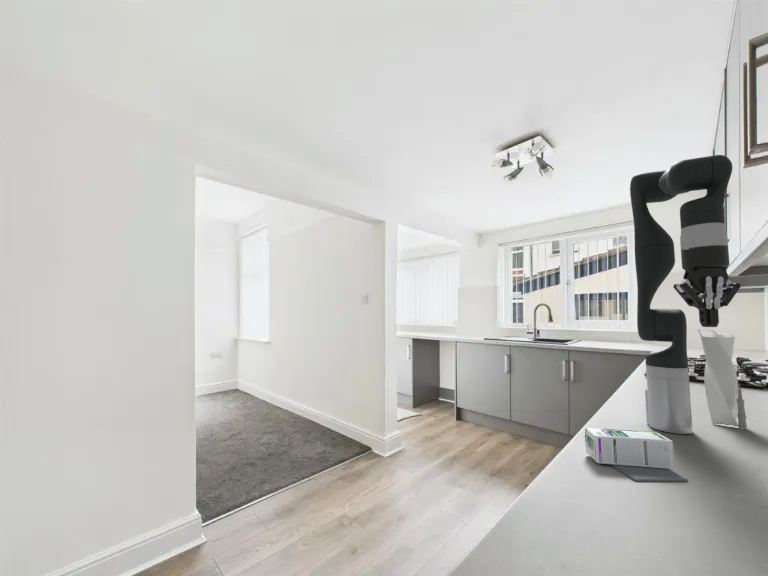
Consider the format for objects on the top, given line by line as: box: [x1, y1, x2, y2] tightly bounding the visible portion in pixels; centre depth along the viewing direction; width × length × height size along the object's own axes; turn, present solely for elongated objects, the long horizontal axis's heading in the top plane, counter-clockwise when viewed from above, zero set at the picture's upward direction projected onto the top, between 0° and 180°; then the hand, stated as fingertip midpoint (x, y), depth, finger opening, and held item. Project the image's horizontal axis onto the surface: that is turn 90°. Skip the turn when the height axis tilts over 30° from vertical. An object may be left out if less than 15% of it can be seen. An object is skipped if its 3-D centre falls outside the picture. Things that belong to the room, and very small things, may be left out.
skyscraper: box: [697, 327, 748, 429], centre depth 100 cm, size 8×8×28 cm
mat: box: [609, 464, 689, 483], centre depth 70 cm, size 12×10×1 cm
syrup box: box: [584, 427, 675, 470], centre depth 73 cm, size 6×6×14 cm
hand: (709, 326), depth 73 cm, fingers closed
